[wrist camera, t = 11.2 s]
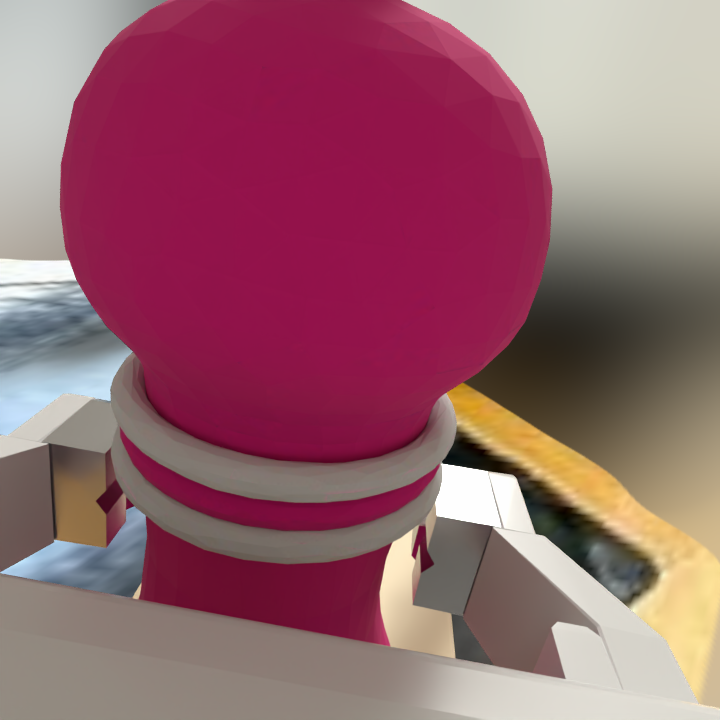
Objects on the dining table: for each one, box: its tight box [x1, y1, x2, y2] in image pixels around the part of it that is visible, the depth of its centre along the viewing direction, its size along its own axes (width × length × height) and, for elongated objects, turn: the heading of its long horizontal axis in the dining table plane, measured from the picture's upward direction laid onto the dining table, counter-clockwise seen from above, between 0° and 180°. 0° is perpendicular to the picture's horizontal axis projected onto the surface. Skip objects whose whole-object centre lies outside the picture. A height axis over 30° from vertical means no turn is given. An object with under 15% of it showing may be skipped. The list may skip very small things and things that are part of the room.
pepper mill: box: [60, 0, 552, 646], centre depth 10 cm, size 7×7×20 cm
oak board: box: [133, 529, 455, 658], centre depth 32 cm, size 16×16×2 cm
